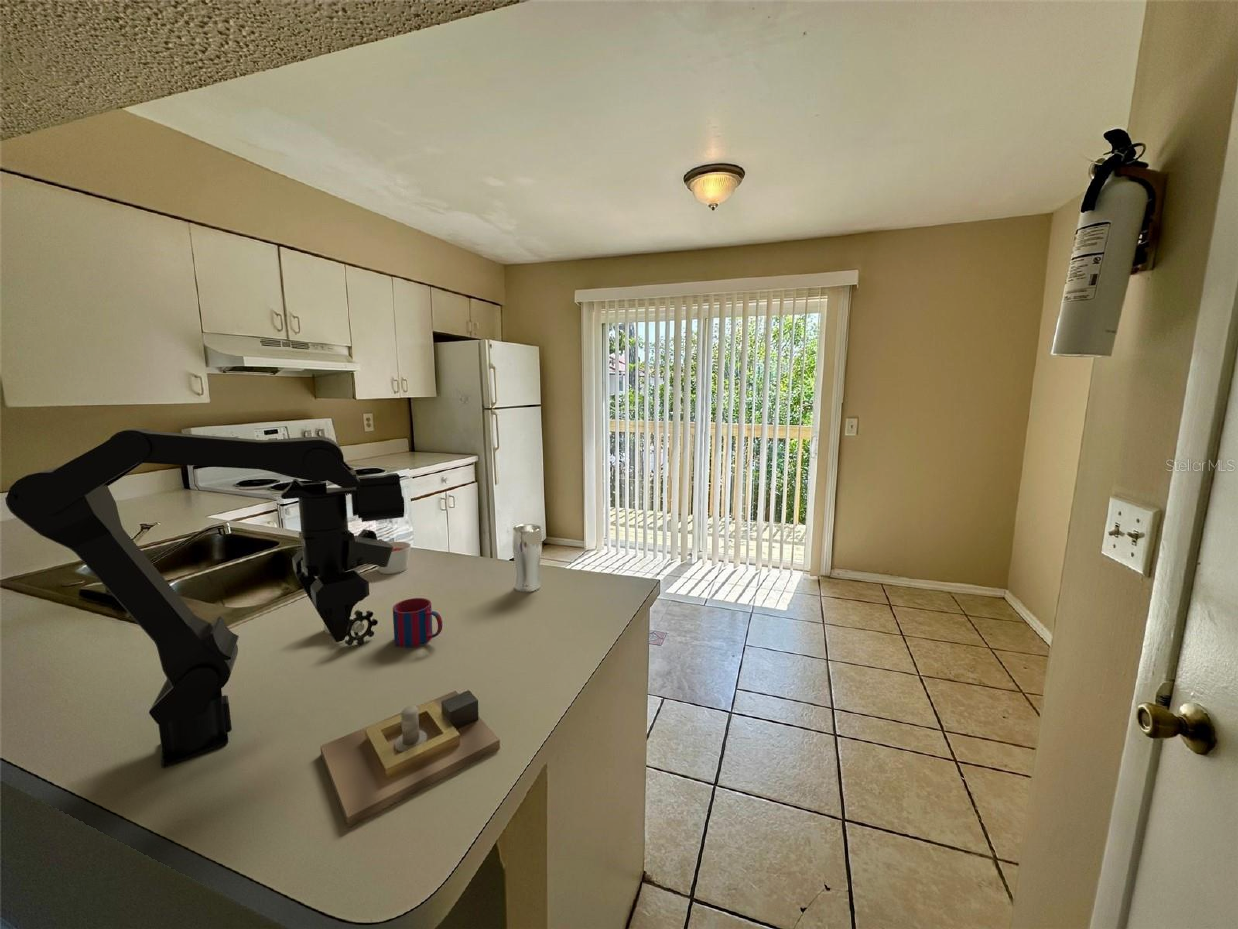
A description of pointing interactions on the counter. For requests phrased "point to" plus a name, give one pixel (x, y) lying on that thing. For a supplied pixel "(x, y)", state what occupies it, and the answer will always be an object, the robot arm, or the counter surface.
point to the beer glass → (527, 556)
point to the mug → (414, 622)
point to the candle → (397, 558)
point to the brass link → (444, 723)
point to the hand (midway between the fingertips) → (332, 629)
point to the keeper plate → (360, 772)
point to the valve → (358, 627)
